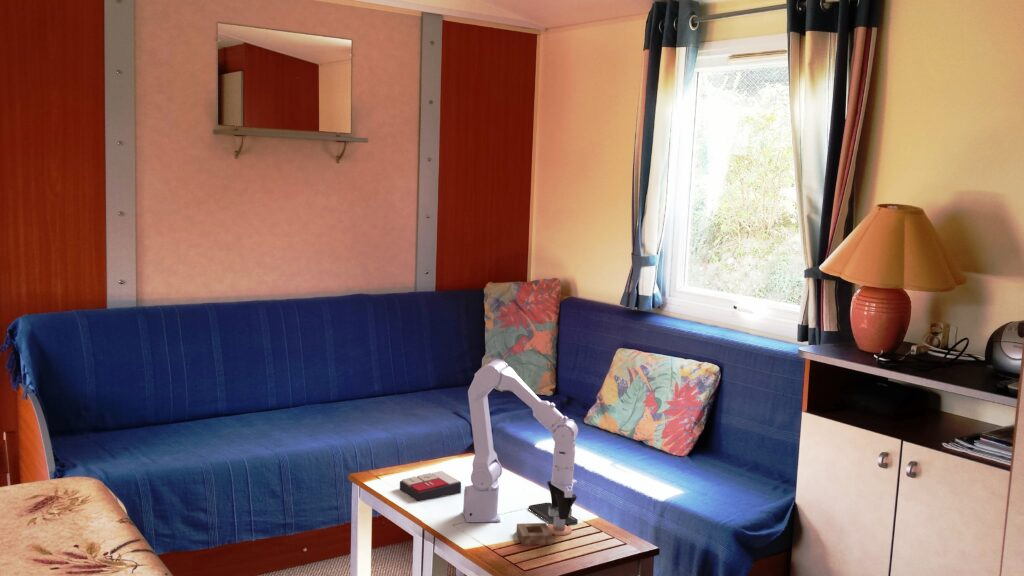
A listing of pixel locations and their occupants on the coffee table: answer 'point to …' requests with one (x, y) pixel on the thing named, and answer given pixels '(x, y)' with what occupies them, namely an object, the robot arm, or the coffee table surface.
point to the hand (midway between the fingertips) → (559, 513)
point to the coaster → (566, 532)
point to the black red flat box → (430, 486)
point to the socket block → (534, 534)
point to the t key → (557, 518)
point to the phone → (543, 512)
